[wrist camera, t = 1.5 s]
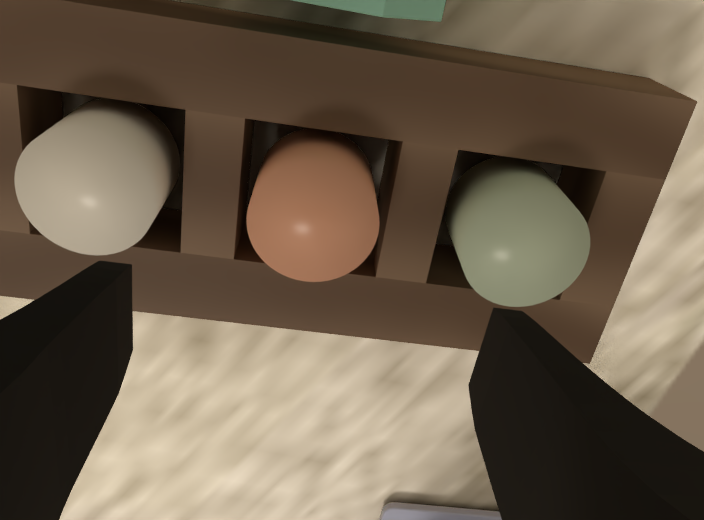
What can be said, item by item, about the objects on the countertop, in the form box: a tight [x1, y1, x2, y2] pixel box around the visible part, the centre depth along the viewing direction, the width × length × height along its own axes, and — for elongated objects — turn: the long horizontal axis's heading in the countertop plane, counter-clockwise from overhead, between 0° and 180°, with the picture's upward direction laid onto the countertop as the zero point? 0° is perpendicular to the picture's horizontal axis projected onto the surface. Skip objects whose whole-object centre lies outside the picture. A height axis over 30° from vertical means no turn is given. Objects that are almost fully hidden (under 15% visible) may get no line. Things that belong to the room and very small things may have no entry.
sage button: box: [445, 156, 590, 307], centre depth 19 cm, size 4×4×3 cm
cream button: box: [14, 98, 180, 255], centre depth 18 cm, size 4×4×3 cm
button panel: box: [0, 0, 697, 364], centre depth 20 cm, size 9×20×3 cm, turn 81°
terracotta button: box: [247, 128, 379, 282], centre depth 18 cm, size 4×4×3 cm
